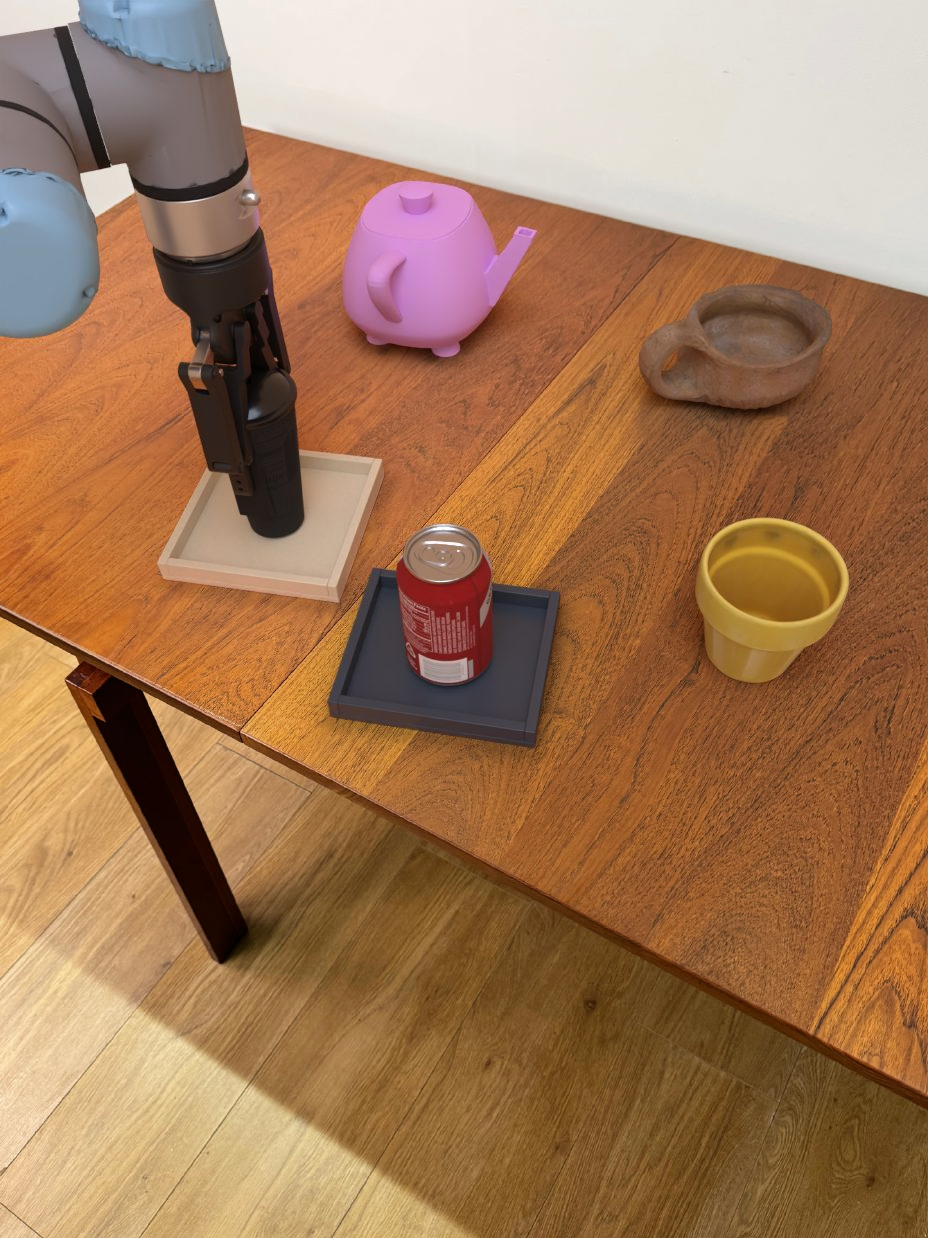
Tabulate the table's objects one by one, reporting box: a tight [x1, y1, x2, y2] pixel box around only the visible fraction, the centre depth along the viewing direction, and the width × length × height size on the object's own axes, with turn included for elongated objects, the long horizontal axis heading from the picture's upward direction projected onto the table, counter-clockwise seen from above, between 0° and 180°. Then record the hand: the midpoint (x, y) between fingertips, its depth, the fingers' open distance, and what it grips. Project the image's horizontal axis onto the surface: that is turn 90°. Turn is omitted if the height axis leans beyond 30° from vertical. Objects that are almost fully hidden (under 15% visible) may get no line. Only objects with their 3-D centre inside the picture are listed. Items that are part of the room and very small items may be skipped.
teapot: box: [341, 180, 538, 358], centre depth 100 cm, size 20×20×15 cm
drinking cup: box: [235, 364, 304, 538], centre depth 80 cm, size 8×8×20 cm
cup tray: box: [156, 448, 385, 604], centre depth 88 cm, size 16×16×2 cm
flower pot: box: [694, 517, 850, 684], centre depth 75 cm, size 10×10×10 cm
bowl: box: [638, 283, 833, 410], centre depth 95 cm, size 18×14×10 cm
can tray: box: [327, 567, 561, 749], centre depth 78 cm, size 16×14×2 cm
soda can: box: [395, 523, 493, 686], centre depth 73 cm, size 7×7×12 cm
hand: (269, 486), depth 85 cm, fingers closed on drinking cup, 6 cm apart
